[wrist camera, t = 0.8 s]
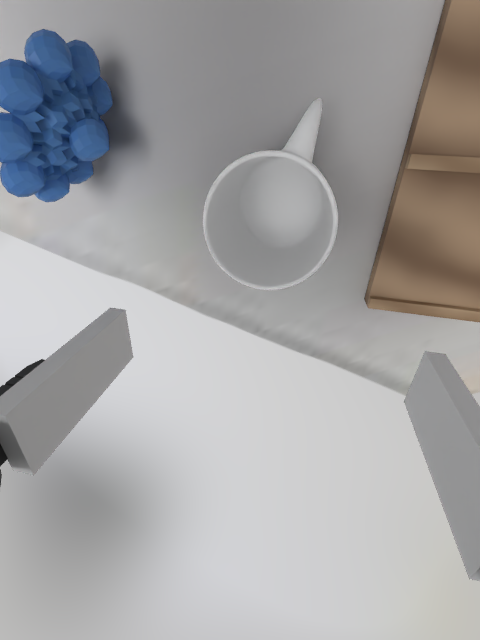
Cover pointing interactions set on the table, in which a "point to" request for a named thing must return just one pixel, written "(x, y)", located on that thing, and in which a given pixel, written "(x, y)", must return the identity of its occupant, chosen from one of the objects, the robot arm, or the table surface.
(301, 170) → the mug
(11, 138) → the grapes
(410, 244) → the ledge board
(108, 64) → the table surface
